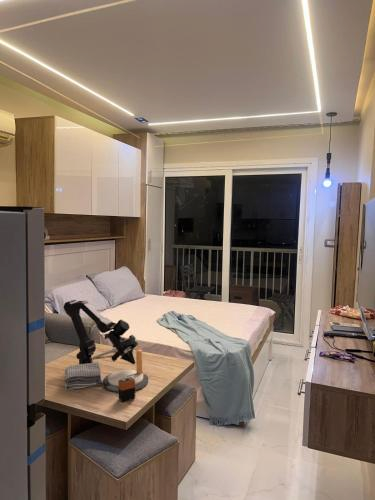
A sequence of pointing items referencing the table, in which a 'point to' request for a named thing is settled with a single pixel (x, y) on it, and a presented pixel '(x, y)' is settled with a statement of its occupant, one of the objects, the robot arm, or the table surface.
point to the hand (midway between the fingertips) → (134, 363)
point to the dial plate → (116, 389)
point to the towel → (83, 376)
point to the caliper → (105, 353)
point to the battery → (126, 389)
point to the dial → (128, 372)
